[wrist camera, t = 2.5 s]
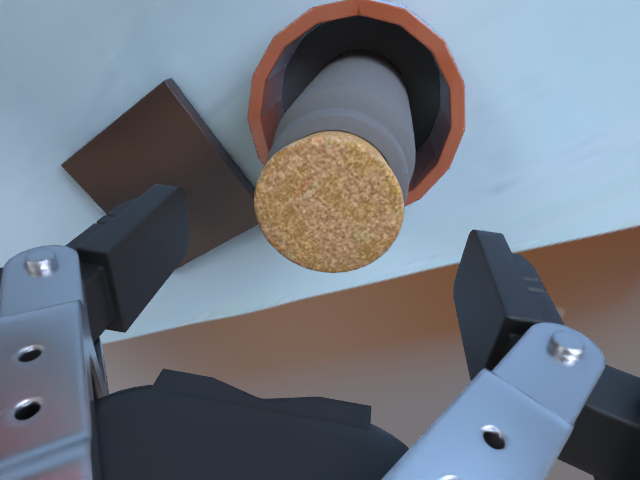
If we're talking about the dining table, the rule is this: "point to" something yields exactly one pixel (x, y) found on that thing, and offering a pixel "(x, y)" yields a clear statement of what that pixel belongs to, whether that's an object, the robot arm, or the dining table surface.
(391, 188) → the bottle
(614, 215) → the dining table surface
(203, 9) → the dining table surface
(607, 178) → the dining table surface
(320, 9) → the terracotta pot
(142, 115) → the walnut board
